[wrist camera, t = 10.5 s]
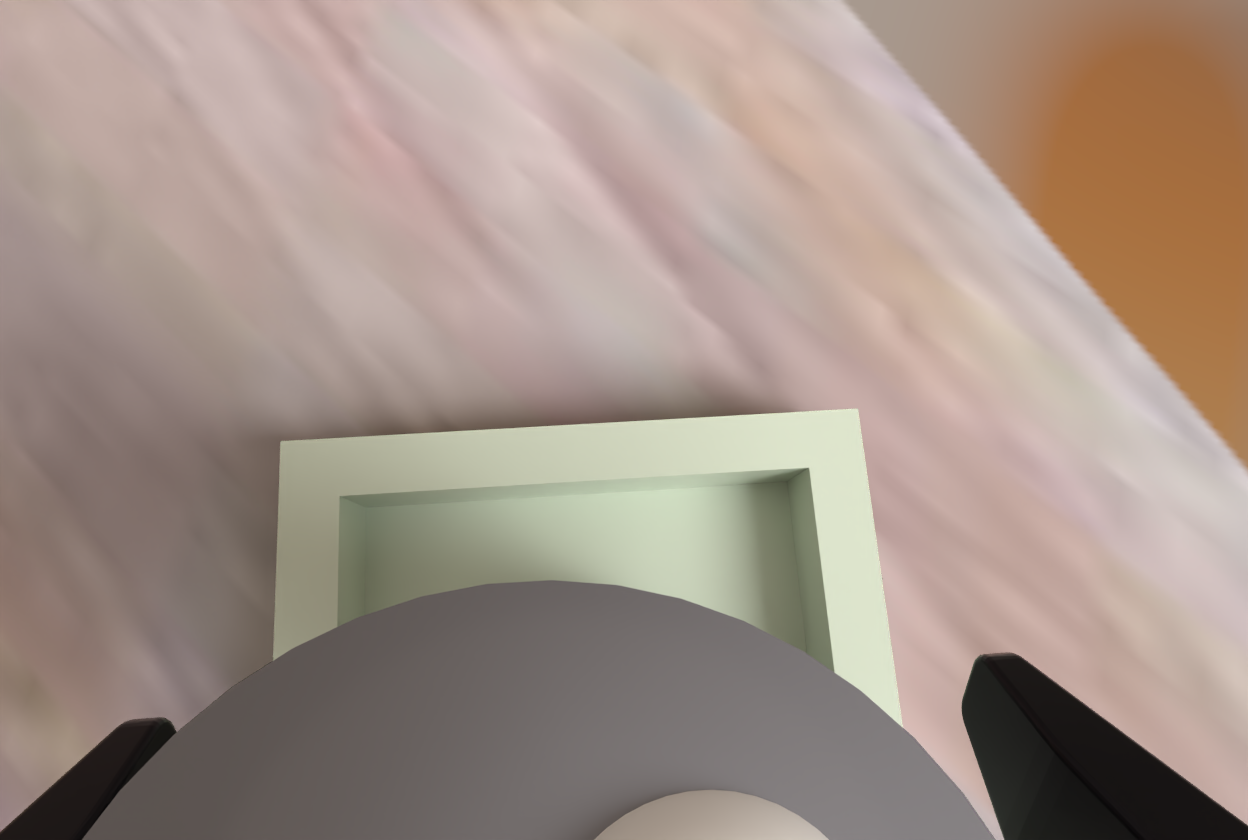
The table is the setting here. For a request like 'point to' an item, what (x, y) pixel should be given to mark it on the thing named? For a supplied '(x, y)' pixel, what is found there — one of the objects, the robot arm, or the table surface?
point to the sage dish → (598, 525)
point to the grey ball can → (542, 734)
